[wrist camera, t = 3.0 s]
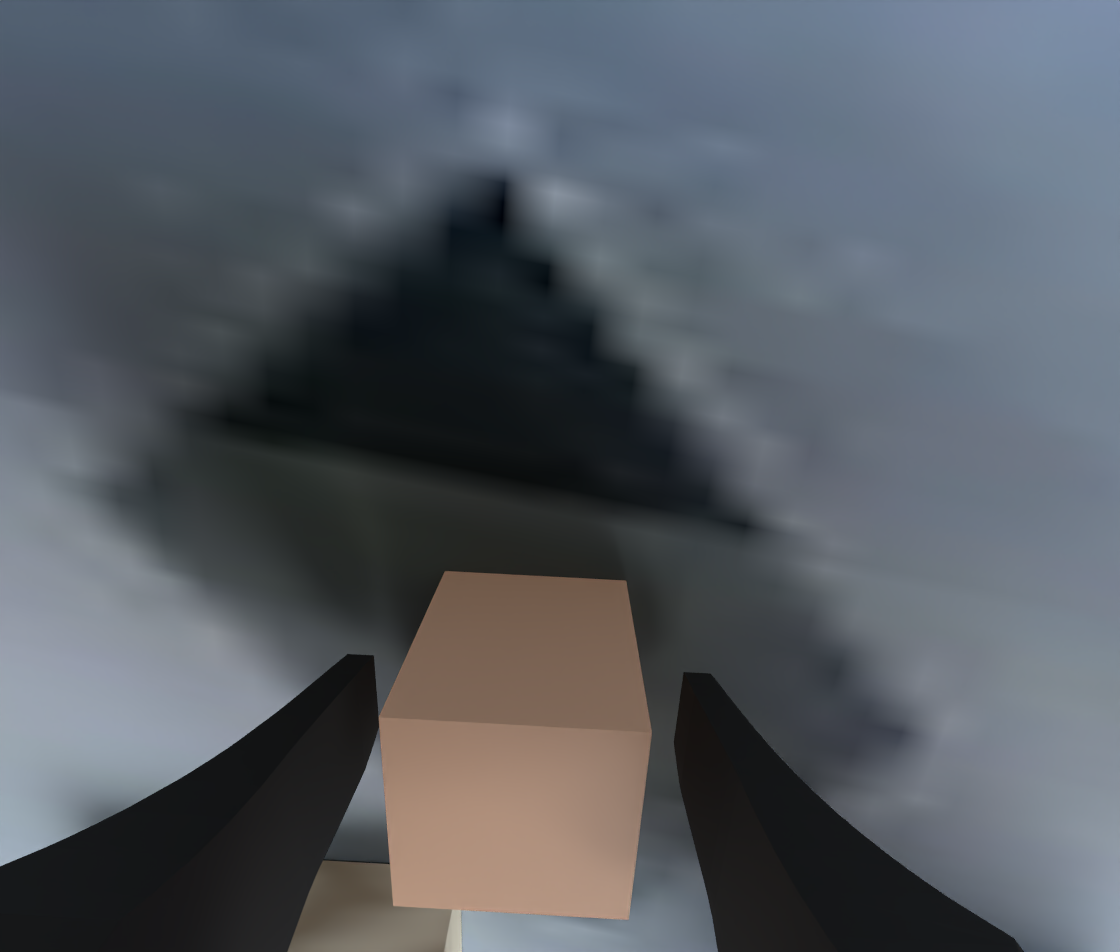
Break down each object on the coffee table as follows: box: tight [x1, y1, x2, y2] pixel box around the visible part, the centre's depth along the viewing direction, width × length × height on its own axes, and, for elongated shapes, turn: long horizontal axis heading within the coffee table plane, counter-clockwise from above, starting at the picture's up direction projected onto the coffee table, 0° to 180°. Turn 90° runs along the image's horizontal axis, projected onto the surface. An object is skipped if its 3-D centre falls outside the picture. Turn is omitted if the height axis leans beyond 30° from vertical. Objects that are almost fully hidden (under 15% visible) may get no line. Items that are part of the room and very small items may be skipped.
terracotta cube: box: [379, 571, 652, 920], centre depth 12 cm, size 4×4×5 cm
